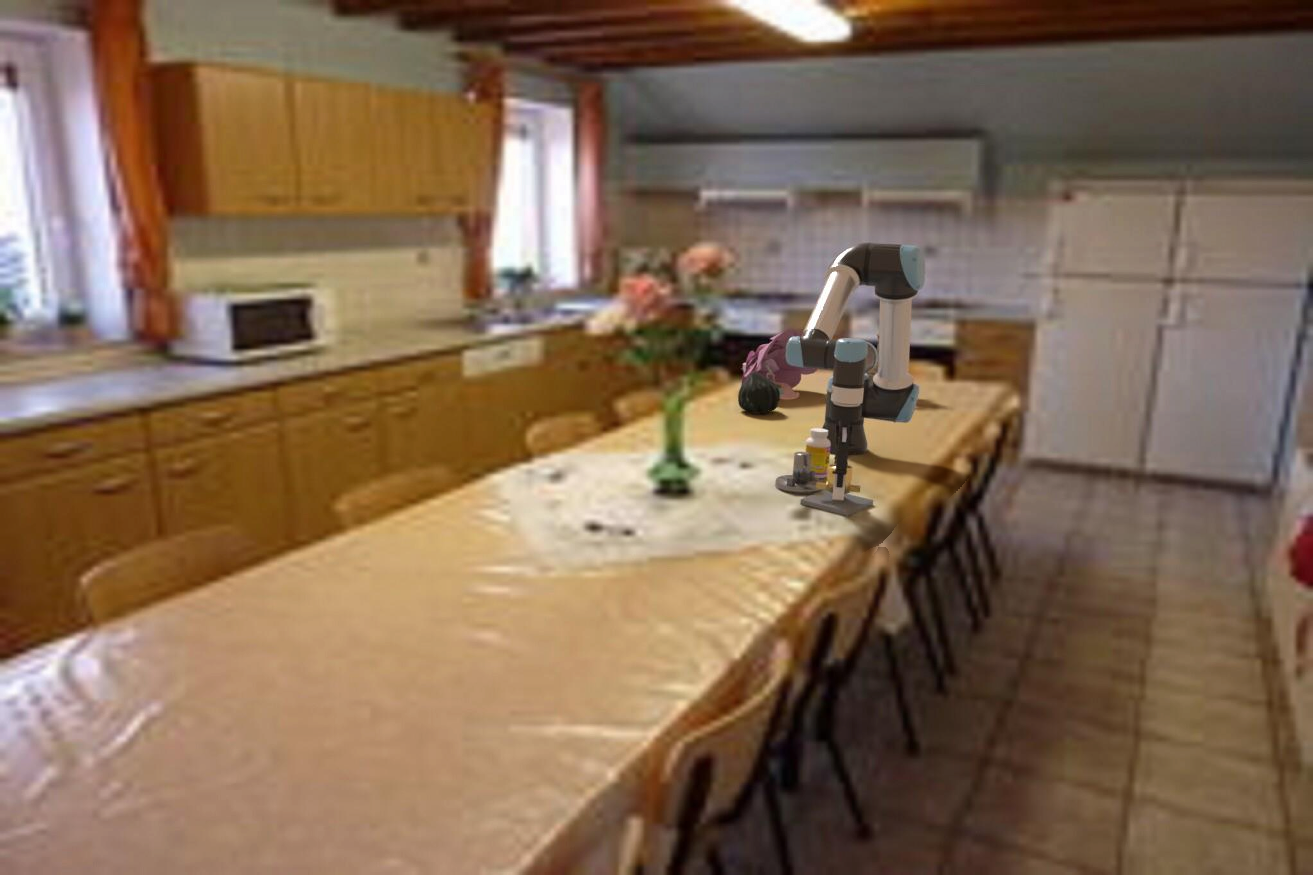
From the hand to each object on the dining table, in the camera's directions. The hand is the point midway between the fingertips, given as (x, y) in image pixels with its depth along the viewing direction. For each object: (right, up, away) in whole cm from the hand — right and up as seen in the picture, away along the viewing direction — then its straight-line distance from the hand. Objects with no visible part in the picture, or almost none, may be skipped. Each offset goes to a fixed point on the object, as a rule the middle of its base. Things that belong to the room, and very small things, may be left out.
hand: (837, 495), depth 232 cm
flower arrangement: (+2, +31, +138) cm, 142 cm away
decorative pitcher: (+46, +30, +143) cm, 153 cm away
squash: (-8, +23, +104) cm, 107 cm away
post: (-7, +1, +14) cm, 15 cm away
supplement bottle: (-1, +4, +25) cm, 26 cm away
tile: (0, -2, 0) cm, 2 cm away
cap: (0, +1, 0) cm, 1 cm away
